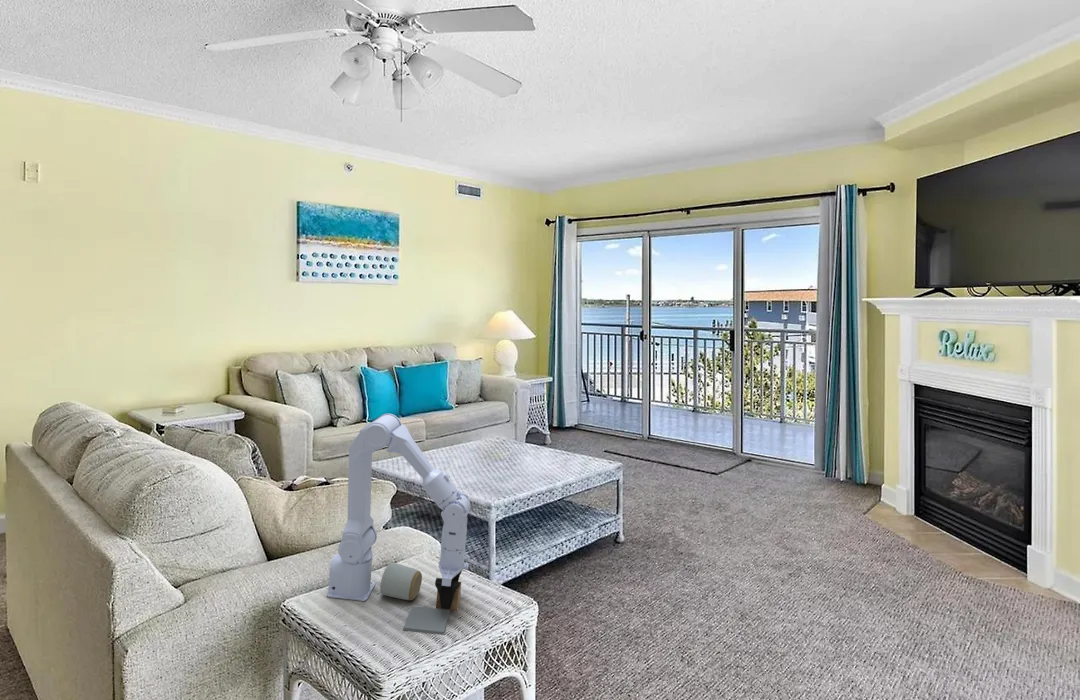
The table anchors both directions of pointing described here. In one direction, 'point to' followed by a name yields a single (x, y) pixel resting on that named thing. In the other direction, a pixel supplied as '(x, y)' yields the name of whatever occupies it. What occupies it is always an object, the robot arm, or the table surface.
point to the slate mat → (427, 620)
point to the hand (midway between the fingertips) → (448, 599)
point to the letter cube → (454, 602)
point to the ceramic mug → (400, 581)
